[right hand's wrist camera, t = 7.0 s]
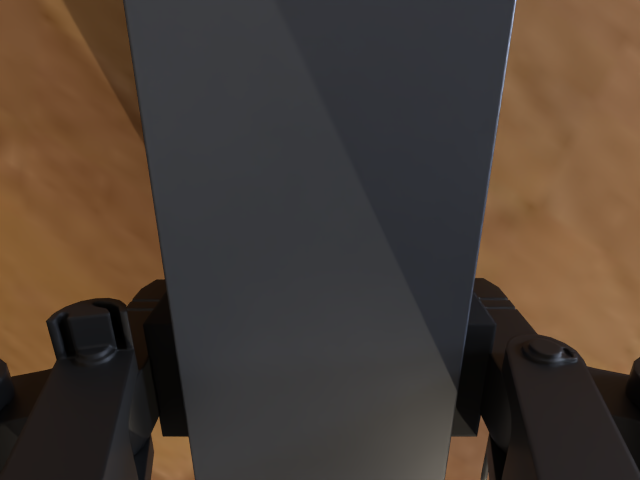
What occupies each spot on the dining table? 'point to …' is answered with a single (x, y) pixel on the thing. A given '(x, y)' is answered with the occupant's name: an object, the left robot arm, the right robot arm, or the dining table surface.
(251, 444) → the bar
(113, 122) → the dining table surface
